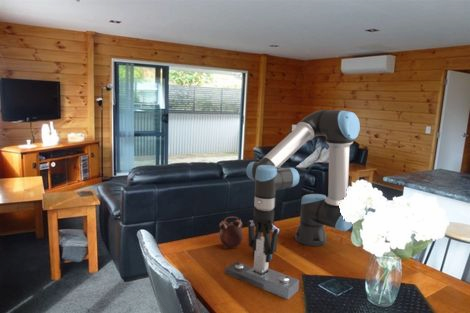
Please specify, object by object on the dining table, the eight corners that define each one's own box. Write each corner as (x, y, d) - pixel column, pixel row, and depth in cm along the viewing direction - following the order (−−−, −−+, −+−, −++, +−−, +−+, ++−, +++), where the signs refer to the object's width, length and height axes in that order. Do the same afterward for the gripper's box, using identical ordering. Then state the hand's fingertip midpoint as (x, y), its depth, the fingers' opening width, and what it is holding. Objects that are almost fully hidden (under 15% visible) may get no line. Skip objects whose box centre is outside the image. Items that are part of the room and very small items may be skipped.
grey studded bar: (237, 265, 143) (237, 254, 142) (298, 290, 126) (299, 277, 125) (224, 272, 136) (225, 261, 135) (287, 299, 120) (288, 286, 119)
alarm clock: (240, 244, 163) (241, 214, 161) (243, 249, 159) (244, 217, 156) (217, 246, 161) (218, 215, 158) (220, 250, 156) (221, 218, 154)
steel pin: (259, 271, 133) (261, 236, 131) (266, 273, 131) (268, 238, 129) (254, 274, 130) (256, 238, 128) (261, 276, 128) (263, 241, 126)
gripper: (240, 205, 128) (237, 264, 132) (278, 215, 119) (274, 278, 122) (251, 200, 134) (249, 257, 138) (289, 210, 125) (285, 271, 128)
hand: (261, 267), depth 130 cm, fingers closed on steel pin, 3 cm apart
